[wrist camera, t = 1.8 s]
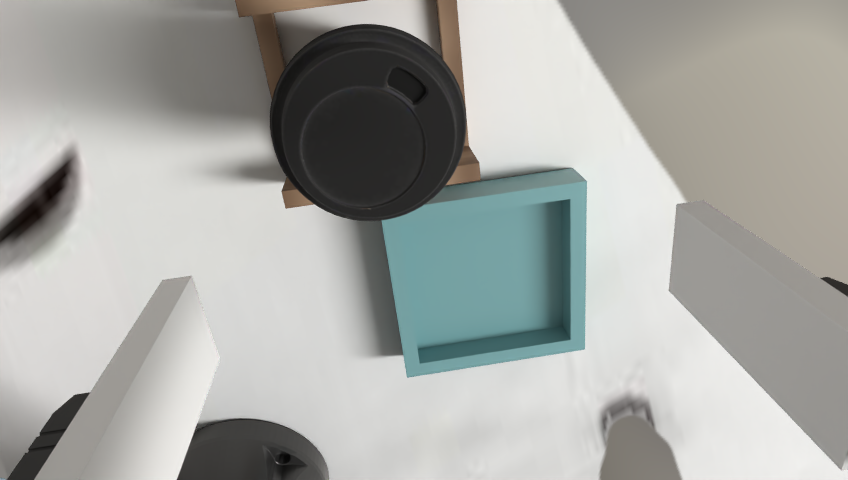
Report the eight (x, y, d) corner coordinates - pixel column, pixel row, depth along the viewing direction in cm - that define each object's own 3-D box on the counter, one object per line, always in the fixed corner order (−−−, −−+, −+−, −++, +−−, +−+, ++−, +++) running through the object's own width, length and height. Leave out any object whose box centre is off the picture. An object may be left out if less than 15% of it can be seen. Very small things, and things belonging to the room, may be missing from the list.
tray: (404, 355, 49) (407, 377, 47) (378, 196, 43) (379, 211, 40) (572, 328, 50) (584, 349, 47) (572, 168, 43) (586, 181, 41)
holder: (293, 182, 42) (285, 208, 37) (249, -9, 36) (233, -6, 31) (467, 157, 42) (480, 180, 38) (451, -35, 36) (463, -36, 32)
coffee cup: (444, 18, 38) (491, 44, 24) (425, 154, 42) (455, 241, 28) (301, -3, 36) (265, 12, 23) (294, 140, 40) (261, 225, 27)
